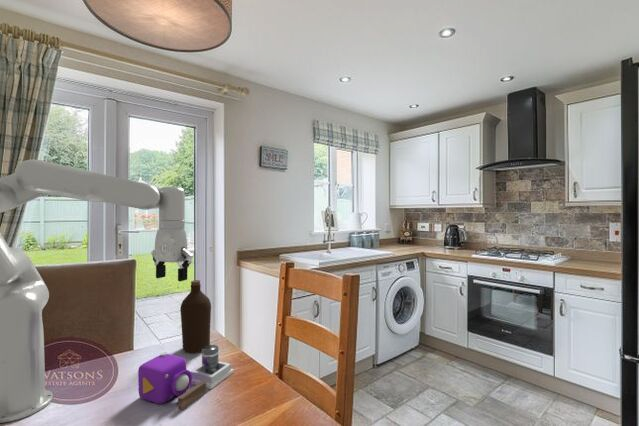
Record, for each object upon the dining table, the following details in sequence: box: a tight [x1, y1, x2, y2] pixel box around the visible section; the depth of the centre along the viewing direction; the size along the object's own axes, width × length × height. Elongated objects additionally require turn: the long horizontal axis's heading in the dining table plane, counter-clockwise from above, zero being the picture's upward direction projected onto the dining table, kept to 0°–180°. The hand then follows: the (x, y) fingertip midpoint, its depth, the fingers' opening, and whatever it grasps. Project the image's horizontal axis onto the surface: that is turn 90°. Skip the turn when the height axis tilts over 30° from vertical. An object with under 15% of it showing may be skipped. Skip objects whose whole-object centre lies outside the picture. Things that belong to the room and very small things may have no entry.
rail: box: [177, 381, 207, 411], centre depth 86 cm, size 2×8×3 cm, turn 157°
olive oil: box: [180, 279, 212, 354], centre depth 118 cm, size 11×11×25 cm
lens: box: [201, 344, 220, 375], centre depth 98 cm, size 5×5×8 cm
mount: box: [189, 360, 234, 390], centre depth 98 cm, size 9×10×3 cm
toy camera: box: [137, 352, 192, 405], centre depth 89 cm, size 11×14×10 cm
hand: (171, 279), depth 102 cm, fingers open, 9 cm apart
